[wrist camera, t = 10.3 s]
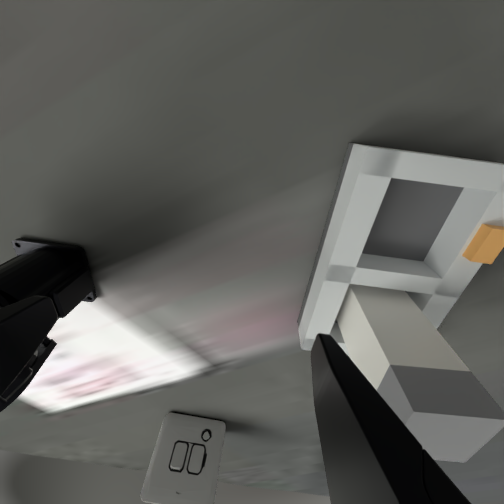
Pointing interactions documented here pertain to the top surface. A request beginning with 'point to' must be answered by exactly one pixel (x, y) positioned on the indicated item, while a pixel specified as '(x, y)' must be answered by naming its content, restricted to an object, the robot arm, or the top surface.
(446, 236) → the white rectangular frame
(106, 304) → the top surface
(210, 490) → the electrical switch
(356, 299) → the grey tall block
